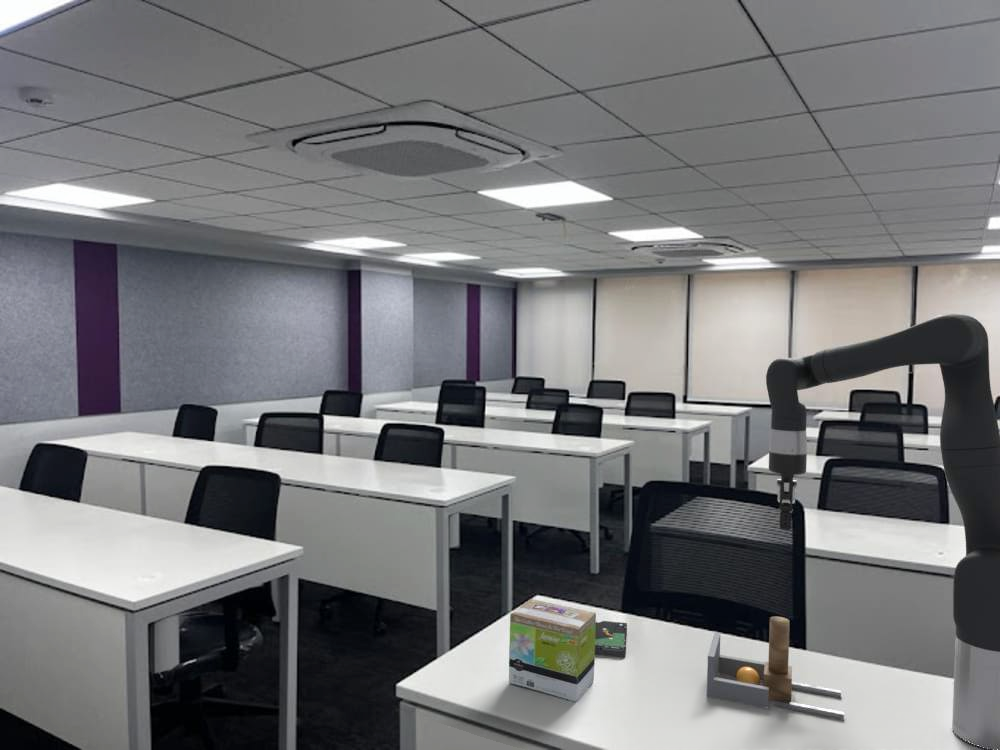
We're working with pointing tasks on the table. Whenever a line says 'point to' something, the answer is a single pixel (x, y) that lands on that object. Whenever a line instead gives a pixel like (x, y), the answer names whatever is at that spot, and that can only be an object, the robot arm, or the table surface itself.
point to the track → (811, 708)
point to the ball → (747, 676)
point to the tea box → (552, 649)
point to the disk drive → (610, 638)
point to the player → (778, 661)
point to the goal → (729, 687)
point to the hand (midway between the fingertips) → (785, 524)
